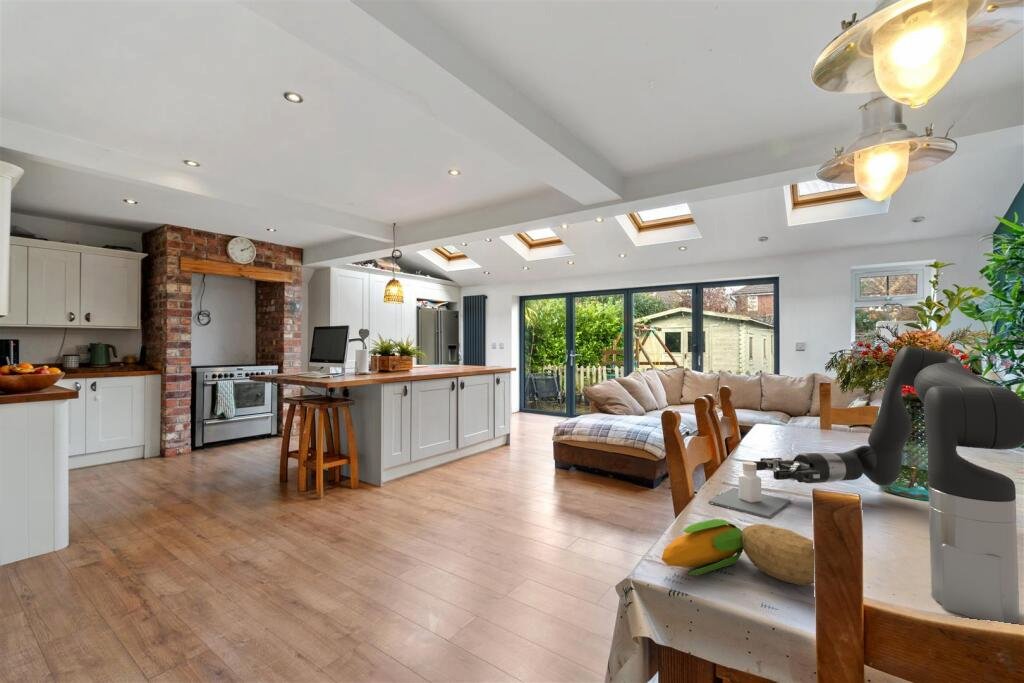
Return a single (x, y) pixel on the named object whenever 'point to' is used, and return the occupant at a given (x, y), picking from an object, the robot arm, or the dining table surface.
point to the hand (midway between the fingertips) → (762, 470)
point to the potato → (780, 553)
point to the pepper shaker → (749, 483)
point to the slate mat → (761, 508)
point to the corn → (705, 546)
